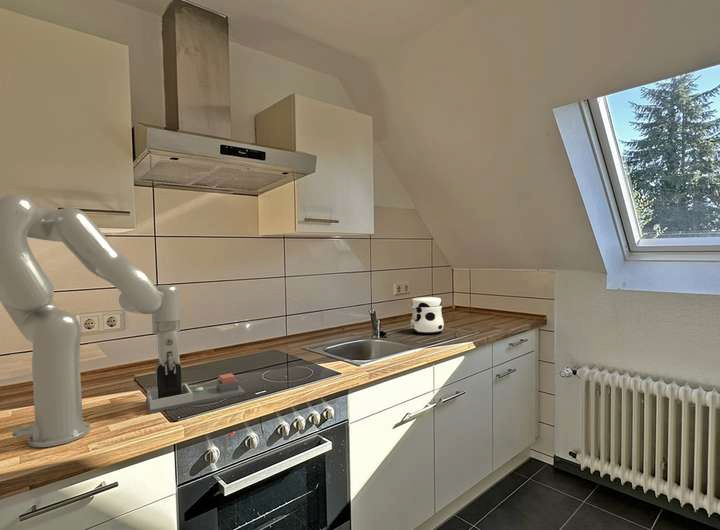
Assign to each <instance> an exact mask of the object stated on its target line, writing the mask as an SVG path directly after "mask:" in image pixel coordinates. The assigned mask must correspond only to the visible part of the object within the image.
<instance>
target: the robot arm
mask: <svg viewBox="0 0 720 530" xmlns="http://www.w3.org/2000/svg"><path fill="white" fill-rule="evenodd" d="M29 238H30V239H35V240H41V241H42V240H43V241H48V242H49V241H50V242H59V243H60V242H62V244H63V245H64V246H65V247H66V248H67V249H68V250H69V251H70V252H71V253H72V254H73V255H74V256H75V257H76V259H78V261H79V262H81V264H82V265H83V266H84V267H85V269H87V270H88V271H89V272H90V273H92V274H93V275H95V276H96V277H99V278H101V279H103V280H105V281H106V282H109V283H110V284H111V285H112V286H114V287H115V288H116V289H117V290H118V291H120V292H121V293H120V294H119V296H118V304H119V306H120V307H121V308H122V309H123V311H126V312H129V313H133V314H140V315H151V322H152V323H151V325H152V334H156V336H157V337H156V338H157V340H156V341H157V352H158V353H157V354H158V360H159V363H161V365H162V366H163V367H165V375H164V382H165V388H172V387H176V386H177V374H176V368H175V363H176V364H177V365H179V364H181V363H180V348H179V347H180V346H179V345H180V344H179V337H178V332H179V331H181V319H180V317H181V315H180V313H181V312H180V294H179V293H180V292H179V287H178V286H177V285H174V284H161V285H155V284H154V283H153V282H152V280H151V279H150V278H149V276H147V275H146V274H145V273H144V272H143V271H142V270H141V269H140V268H139V267H138V266H137V265H135V264H134V263H133V262H132V261H130V259H128V258H127V257H126V256H125V255H123V254H122V253H121V252H120V251H119V250H118V249H117V248H116V247H115V246H114V244H113V243H111V241H110V240H109V239H108V238H107V236H105V234H104V233H103V232H102V231H101V229H100V228H99V227H98V226H97V225H96V223H95V222H94V221H93V220H92V219H91V218H90V217H89V216H88V214H87V213H85V212H84V211H83V210H81V209H78V208H77V207H64V208H60V209H55V208H49V207H43V206H37V205H36V204H35V203H34V202H33V200H32V199H30V198H29V197H27V196H25V195H22V194H17V193H12V194H11V193H10V194H5V195H1V196H0V303H1V305H2V306H3V308H4V310H5V311H6V312H7V314H8V315H9V317H10V318H11V320H12V321H13V323H14V324H15V326H16V327H17V329H18V330H19V332H20V333H21V334H22V336H23V337H24V338H25V339H26V340H28V341H29V342H30V343H32V356H31V373H32V374H31V377H32V387H33V388H32V389H33V401H34V402H33V403H34V404H33V405H34V406H33V407H34V421H33V423H29V425H25V426H18V427H13V428H12V430H11V431H12V432H11V435H12V437H16V438H17V439H20V438H23V437H28V436H29V437H28V438H27V444H28V446H30V447H32V448H49V447H54V446H55V447H56V446H60V445H65V444H68V443H70V442H74V441H76V440H78V439H81V438H83V437H84V436H86V435H87V434H88V433H89V432H90V431H91V424H90V423H89V422H86V421H84V420H83V419H84V418H83V402H82V401H83V400H82V399H83V398H82V382H81V381H82V380H81V379H82V378H81V367H80V366H81V363H80V360H81V358H80V357H81V356H80V349H81V341H82V340H81V339H82V329H81V324H80V322H79V320H78V319H77V318H76V316H75V315H74V314H72V313H70V312H69V311H66V310H62V309H59V307H58V306H57V304H56V302H55V301H54V298H53V297H54V296H55V289H54V285H53V283H52V282H51V280H50V279H49V277H48V276H47V274H46V273H45V271H44V270H43V268H42V266H41V265H40V263H39V261H38V260H37V258H36V256H35V255H34V253H33V251H32V249H31V247H30V245H29V242H28V239H29Z"/></svg>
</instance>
